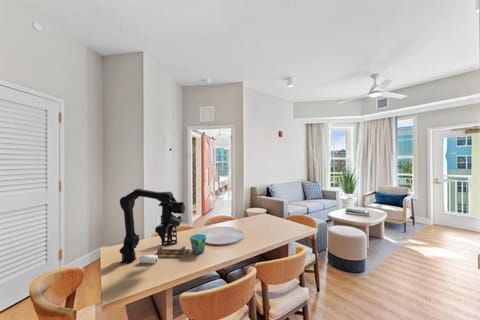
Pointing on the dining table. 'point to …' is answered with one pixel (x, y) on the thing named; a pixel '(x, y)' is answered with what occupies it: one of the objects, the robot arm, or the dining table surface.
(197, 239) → the snack cup
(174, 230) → the holder
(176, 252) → the cradle
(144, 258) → the roll
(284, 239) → the dining table surface
